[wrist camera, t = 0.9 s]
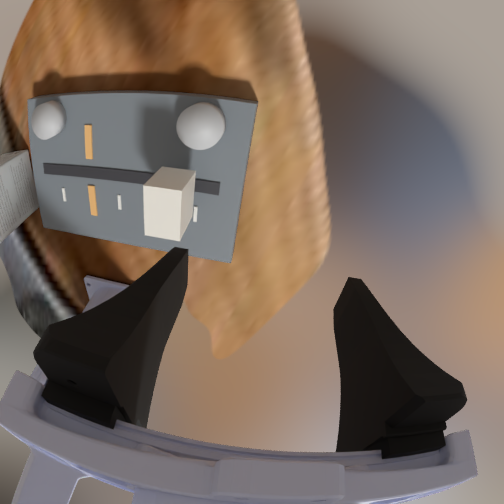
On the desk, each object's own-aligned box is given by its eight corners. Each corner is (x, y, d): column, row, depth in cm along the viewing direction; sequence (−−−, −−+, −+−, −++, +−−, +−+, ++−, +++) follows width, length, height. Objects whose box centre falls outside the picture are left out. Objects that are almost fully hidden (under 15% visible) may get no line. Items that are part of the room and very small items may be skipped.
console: (233, 251, 24) (228, 273, 22) (52, 219, 24) (36, 234, 22) (258, 101, 17) (255, 106, 15) (39, 95, 17) (17, 102, 15)
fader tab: (196, 207, 20) (179, 241, 17) (166, 203, 20) (144, 235, 17) (200, 164, 18) (181, 190, 15) (168, 160, 18) (143, 185, 15)
